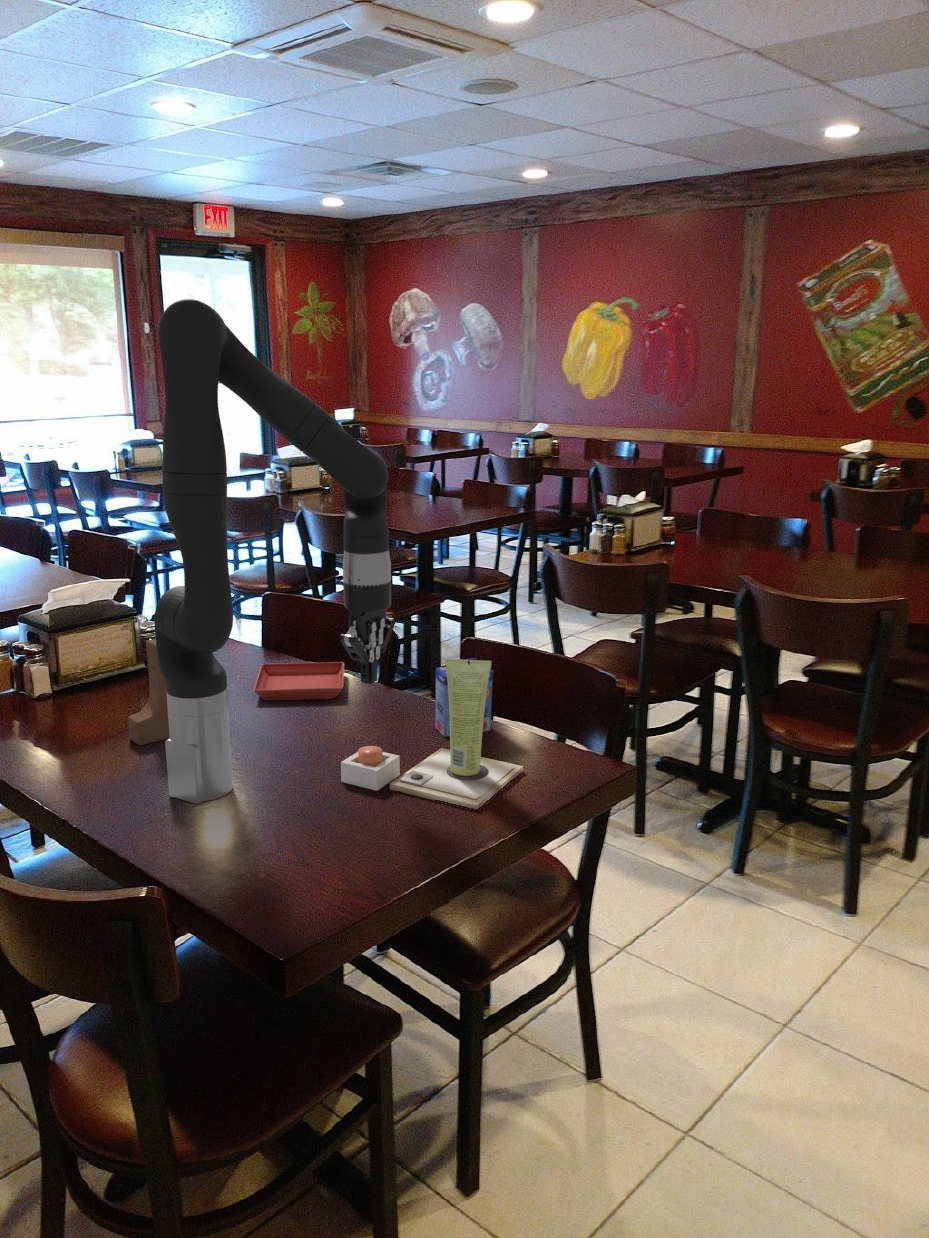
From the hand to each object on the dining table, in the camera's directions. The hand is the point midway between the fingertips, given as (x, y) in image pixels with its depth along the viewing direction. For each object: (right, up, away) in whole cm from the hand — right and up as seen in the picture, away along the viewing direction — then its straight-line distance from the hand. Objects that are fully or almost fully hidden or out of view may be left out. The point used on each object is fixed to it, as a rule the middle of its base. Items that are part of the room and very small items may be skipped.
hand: (369, 681), depth 158 cm
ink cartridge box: (+15, -11, +26) cm, 32 cm away
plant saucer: (-19, -5, +48) cm, 52 cm away
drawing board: (+14, -17, +4) cm, 22 cm away
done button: (0, -15, +4) cm, 15 cm away
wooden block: (-41, -12, +21) cm, 47 cm away
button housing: (0, -16, +4) cm, 17 cm away
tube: (+16, -15, +4) cm, 22 cm away
